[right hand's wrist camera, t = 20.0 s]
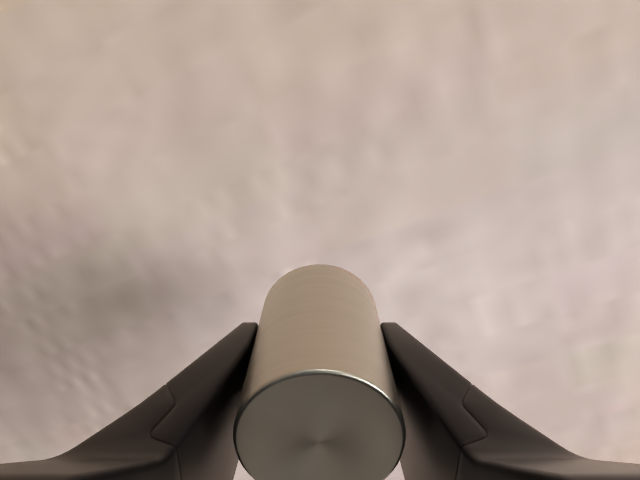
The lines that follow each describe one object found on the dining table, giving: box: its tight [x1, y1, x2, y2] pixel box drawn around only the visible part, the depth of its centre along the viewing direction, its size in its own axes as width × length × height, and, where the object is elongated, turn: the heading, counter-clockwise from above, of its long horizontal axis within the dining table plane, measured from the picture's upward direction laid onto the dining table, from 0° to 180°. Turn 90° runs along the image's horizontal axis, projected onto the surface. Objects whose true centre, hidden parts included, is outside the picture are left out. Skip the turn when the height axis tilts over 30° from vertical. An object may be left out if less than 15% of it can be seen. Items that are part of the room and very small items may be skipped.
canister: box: [233, 265, 406, 480], centre depth 10 cm, size 3×3×5 cm
